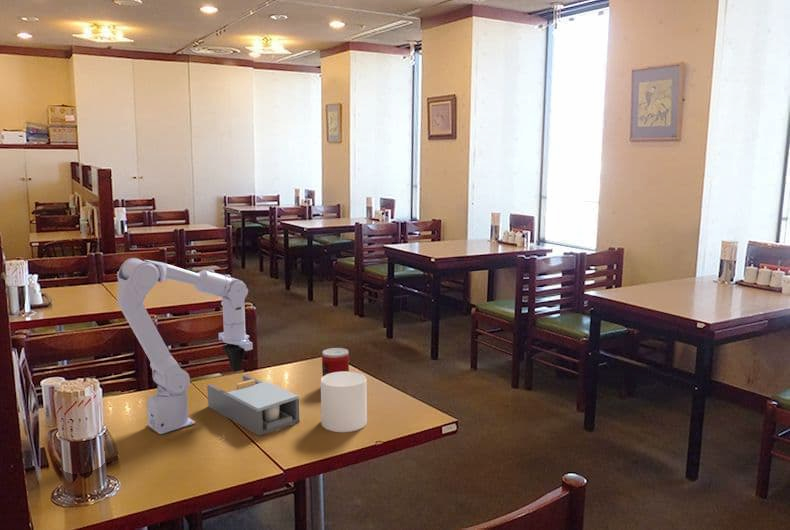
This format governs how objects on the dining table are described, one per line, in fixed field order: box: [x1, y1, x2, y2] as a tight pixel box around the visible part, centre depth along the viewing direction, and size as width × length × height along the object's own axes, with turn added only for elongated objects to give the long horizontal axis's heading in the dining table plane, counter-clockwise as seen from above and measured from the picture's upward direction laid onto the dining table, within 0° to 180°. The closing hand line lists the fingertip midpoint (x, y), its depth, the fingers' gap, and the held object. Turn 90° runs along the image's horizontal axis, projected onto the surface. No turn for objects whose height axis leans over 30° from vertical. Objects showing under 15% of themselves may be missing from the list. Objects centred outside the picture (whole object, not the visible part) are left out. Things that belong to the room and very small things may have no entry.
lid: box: [226, 378, 300, 412], centre depth 165 cm, size 12×16×2 cm
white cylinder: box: [320, 370, 368, 433], centre depth 163 cm, size 12×12×12 cm
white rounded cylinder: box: [264, 405, 280, 423], centre depth 162 cm, size 4×4×5 cm
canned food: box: [321, 347, 350, 377], centre depth 189 cm, size 8×8×11 cm
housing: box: [206, 374, 300, 436], centre depth 169 cm, size 12×26×6 cm, turn 44°
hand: (236, 370), depth 173 cm, fingers closed
